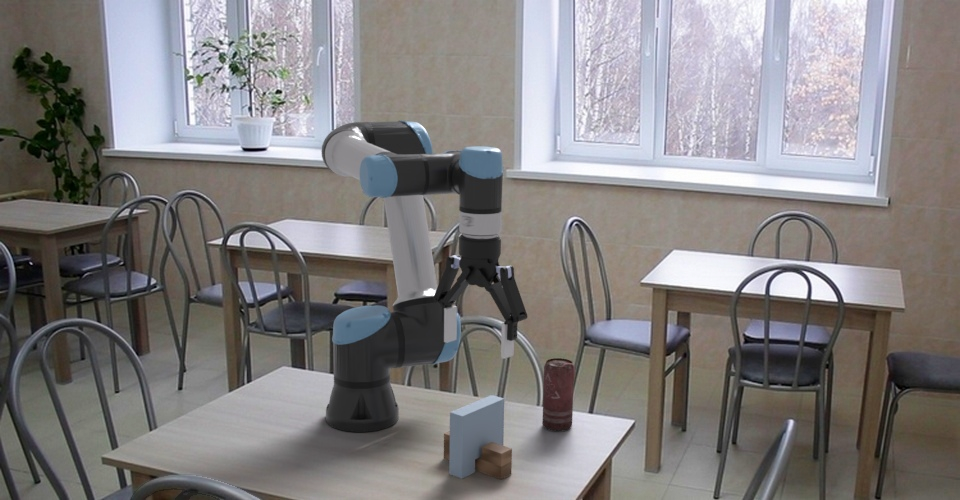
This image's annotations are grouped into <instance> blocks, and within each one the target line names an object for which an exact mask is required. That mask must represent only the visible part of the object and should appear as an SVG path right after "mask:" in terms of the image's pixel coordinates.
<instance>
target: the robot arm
mask: <svg viewBox="0 0 960 500" xmlns="http://www.w3.org/2000/svg"><path fill="white" fill-rule="evenodd" d="M320 151H321V158H322V161H323V163H324V165H325V166H326V167H327V169H328V170H329V171H330V172H332V173H334V174H336V175H338V176H340V177H345V178H347V177H348V178H349V177H352V178H354V179H356V180H357V181H359V183H360V188H361V190H362V192H363V194H364V195H365V196H367V197H369V198H381V199H383V201H384V203H383V204H384V209H385V216H386V223H387V229H388V236H389V243H390V250H391V256H392V262H393V272H394V276H395V283H396V288H397V289H396V290H397V299H395V301H394V303H393V304H392V311H393V312H391V310H390V309H389V308H388V307H387V306H384V305H381V304H380V305H377V304H376V305H370V304H369V305H362V306H361V305H360V306H356V307H352V308H349V309H346V310H344V311H343V312H342V311H341V313H340V314H337V316H336V317H335V319H334V320H333V329H332V337H331V341H332V351H333V352H332V353H333V355H332V356H333V360H332V361H333V386H332V390H331V393H330V398H329V402H328V403H327V406H326V408H325V421H326V423H327V424H328V426H330V427H331V428H334V429H336V430H339V431H345V432H353V433H354V432H356V433H365V432H367V433H368V432H374V431H380V430H384V429H387V428H389V427H391V426H393V425H394V424H396V423H397V422H398V420H399V417H400V416H399V415H400V414H399V412H400V411H399V410H400V409H399V405H398V403H397V400H396V396H395V393H394V390H393V388H392V384H391V370H392V369H400V368H409V367H415V366H425V365H426V366H427V365H430V366H431V365H433V366H434V365H436V364H439V363H446V362H450V361H452V359H454V358H455V356H456V354H457V352H458V351H459V347H460V343H461V335H462V334H461V333H462V327H461V326H462V325H461V318H460V313H458V312H459V311H458V306H456V305H455V304H456V301H457V300H458V298H459V297H460V296H461V295H462V293H463V292H464V291H465V290H466V289H467V287H468V286H477V287H479V288H484V290H485V291H486V292H488V293H489V295H490V297H491V298H492V300H493V302H494V304H495V305H496V307H497V308H498V311H499V312H500V313H501V315H502V317H503V319H504V321H503V322H501V336H500V337H501V338H500V339H501V341H500V345H501V346H500V359H503V360H505V359H508V358H510V357H513V356H514V355H515V353H514V351H515V349H514V348H515V340H517V338H518V323H519V322H521V321H525V320H527V319H528V313H527V310H526V307H525V305H524V302H523V298H522V297H521V292H520V291H519V287H518V285H517V282H516V279H515V270H514V269H515V268H514V266H513V265H512V264H509V265H506V266H504V265H502V266H501V265H500V262H499V260H500V256H501V254H502V253H501V252H502V237H501V236H500V235H499V234H501V233H502V227H503V226H502V223H503V222H502V219H503V218H502V216H503V215H502V214H503V213H502V208H503V207H502V203H503V176H504V166H503V165H504V164H503V163H504V162H503V153H502V151H501V149H500V148H497V147H493V146H491V147H490V146H485V145H484V146H483V145H480V146H477V145H476V146H466V147H465V146H464V148H462V149H461V150H445V151H443V152H441V153H440V152H439V153H434V150H433V144H432V141H431V138H430V135H429V133H428V131H427V129H426V128H425V127H424V126H423V125H422V124H421V123H419V122H416V121H405V120H398V121H364V122H362V121H354V122H349V123H345V124H342V125H340V126H338V127H336V128H334V129H333V130H332V131H330V132H329V133H328V135H326V137H325V138H324V140H323V143H322V145H321V150H320ZM450 194H452V195H459V207H458V208H459V216H458V217H459V218H458V219H459V221H458V222H459V223H458V224H459V226H458V227H459V228H458V229H459V231H458V232H460V233H461V234H459V235H460V236H459V237H458V254H454V255H449V256H447V257H446V261H445V262H446V264H445V269H444V271H443V274H442V276H441V277H440V281H439V283H438V281H437V275H436V269H435V263H434V257H433V251H432V244H431V238H430V231H429V226H428V219H427V213H426V211H427V210H426V207H425V200H424V199H425V198H424V196H429V195H430V196H433V195H450ZM459 269H460V270H461V273H460V274H459V276H458V277H457V275H458V272H459ZM456 277H457V279H456ZM455 279H456V282H455ZM454 282H455V283H454Z"/></svg>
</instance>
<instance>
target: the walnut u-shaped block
mask: <svg viewBox="0 0 960 500" xmlns="http://www.w3.org/2000/svg"><path fill="white" fill-rule="evenodd" d="M512 456H513V449H512V448H510V447H508V446H505V445H504V444H503V445H500V444H497V443H494V442H491V443H489V444H486V445H484V446H482V455H481V457H479V458H477V459H475V471H477V472H480V473H482V474H486V475H487V476H490V477H493V478H496V479H499V480H503V479H505V478H507V477H509V476H511V475H512V464H513V463H512V461H513V457H512ZM443 459H444V460H448V461H450V430H449V431H447V432H444V433H443Z"/></svg>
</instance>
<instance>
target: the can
mask: <svg viewBox="0 0 960 500" xmlns="http://www.w3.org/2000/svg"><path fill="white" fill-rule="evenodd" d="M575 375H576V367H575V364H573V361H572V360H570V359H567V358H559V357H558V358H555V357H554V358H549V359H548V360H546V361H545V364H544V366H543V395H542V396H543V398H542V425H543V427H544V429H546V430H547V431H551V432H567V431H568V430H570V429H571V428H572V426H573V411H574V408H573V407H574V386H575V385H574V383H575V378H576V376H575Z"/></svg>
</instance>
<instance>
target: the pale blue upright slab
mask: <svg viewBox="0 0 960 500" xmlns="http://www.w3.org/2000/svg"><path fill="white" fill-rule="evenodd" d="M504 426H505V398H504V397H500V396H497V395H494V394H490V395H488V396H486V397H483V398H481V399H478V400H476V401H474V402H471V403H469V404H467V405H464V406H462V407H459V408H457V409H454V410H451V411H450V412H449V431H450V460H449V465H448V466H449V470H448V471H449V475H450V476H451V475H452V477H453V476H454V477H456V478H459V479H463V478H466V477H468V476H470V475H472V474H475V473H476V470H475V459H477V458H479V457H481V455H482V446H484V445H486V444H489V443H491V442H494V443H497V444H500V445H503V446H504V433H505V432H504V428H505V427H504Z"/></svg>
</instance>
